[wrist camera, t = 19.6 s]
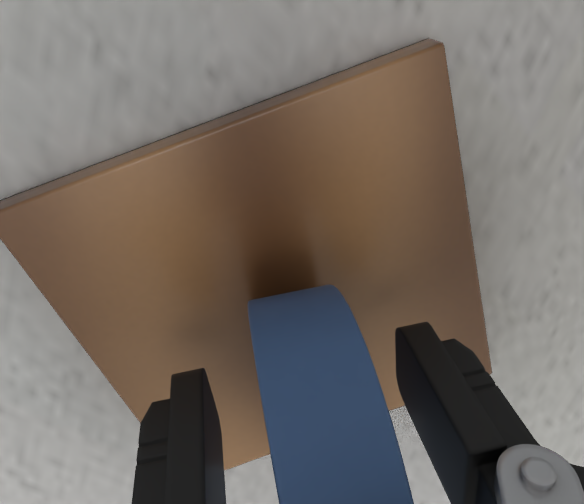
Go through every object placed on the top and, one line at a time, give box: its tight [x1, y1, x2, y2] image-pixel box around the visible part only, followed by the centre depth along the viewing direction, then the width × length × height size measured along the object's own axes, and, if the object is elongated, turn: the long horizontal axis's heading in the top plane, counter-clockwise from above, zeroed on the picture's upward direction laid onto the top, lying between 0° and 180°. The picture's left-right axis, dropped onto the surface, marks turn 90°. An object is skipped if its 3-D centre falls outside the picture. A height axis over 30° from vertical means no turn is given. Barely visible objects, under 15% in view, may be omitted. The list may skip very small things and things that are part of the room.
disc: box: [248, 285, 414, 504], centre depth 11 cm, size 2×8×8 cm
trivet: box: [0, 39, 492, 470], centre depth 14 cm, size 11×11×1 cm
